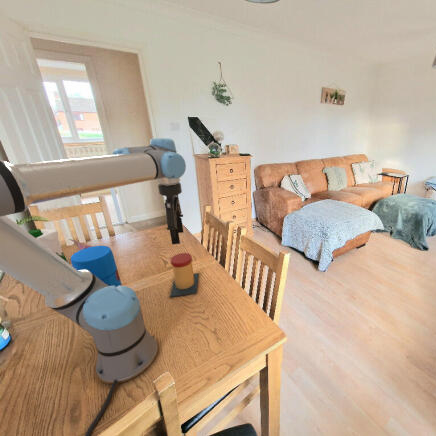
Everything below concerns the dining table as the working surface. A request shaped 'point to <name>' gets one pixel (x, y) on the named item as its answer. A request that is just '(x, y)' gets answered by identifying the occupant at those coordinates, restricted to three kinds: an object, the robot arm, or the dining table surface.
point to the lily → (81, 245)
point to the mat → (188, 291)
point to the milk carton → (49, 240)
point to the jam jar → (183, 276)
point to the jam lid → (181, 260)
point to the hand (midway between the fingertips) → (178, 237)
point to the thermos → (98, 264)
